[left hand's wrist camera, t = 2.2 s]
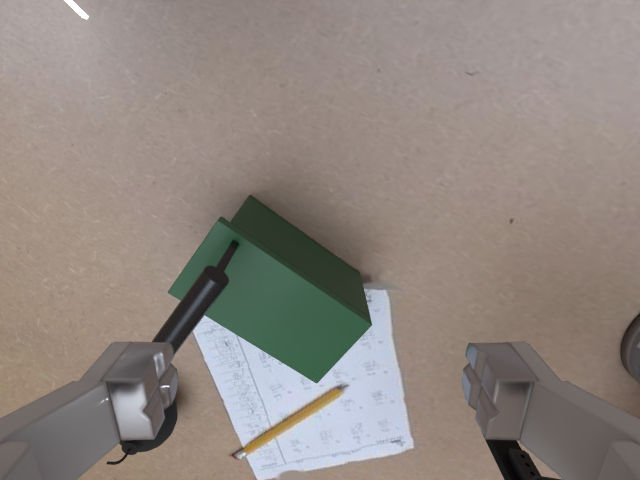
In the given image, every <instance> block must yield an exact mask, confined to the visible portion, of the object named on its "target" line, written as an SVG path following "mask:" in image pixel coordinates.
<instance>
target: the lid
mask: <svg viewBox="0 0 640 480" xmlns="http://www.w3.org/2000/svg"><path fill="white" fill-rule="evenodd" d="M168 293H169V294H171V295H173V296H174V297H176V298H178V299H179V300H181V302H180V303H179V304H178V306H177V307H176V309H175V310H174V311H173V313H172V314H171V316H170V317H169V318H168V320H167V321H166V322H165V324H164V325H163V327H162V328H161V329H160V331H159V332H158V334H157V335H156V336H155V338H154V339H153V341H152V342H165V343H170V344H171V345H173V350H174V355H175V354H176V352H177V351H178V350H179V348H180V347H181V346H182V344H183V343H184V342H185V340H186V339H187V338H188V336H189V335H190V334H191V332H192V331H193V330H194V328H195V327H196V326H197V324H198V323H199V322H200V320H201V319H202V318H203V316H204V315H205V316H207V317H209V318H210V319H212V320H214V321H215V322H217V323H219V324H220V325H222V326H223V327H225V328H227V329H228V330H230V331H232V332H233V333H235V334H237V335H238V336H240V337H241V338H243V339H245V340H246V341H248V342H250V343H251V344H253V345H255V346H256V347H258V348H259V349H261V350H263V351H264V352H266V353H268V354H269V355H271V356H273V357H274V358H276V359H277V360H279V361H281V362H282V363H284V364H286V365H287V366H289V367H291V368H292V369H294V370H296V371H297V372H299V373H300V374H302V375H304V376H305V377H307V378H309V379H310V380H312V381H314V382H315V383H318V382H319V381H320V380H321V379H322V378H323V377H324V375H325V374H326V373H327V372H328V371H329V370H330V369H331V368H332V367H333V366H334V365H335V364H336V363H337V362H338V361H339V360H340V358H341V357H342V356H343V355H344V354H345V353H346V352H347V351H348V350H349V349H350V348H351V347H352V346H353V345H354V344H355V342H356V341H357V340H358V339H359V338H360V337H361V336H362V335H363V334H364V333H365V332H366V331H367V330H368V329H369V328H370V327H371V325H372V323H371V318H370V317H368V316H367V315H365V314H364V313H362V312H361V311H359V310H358V309H356V308H355V307H353V306H352V305H350V304H349V303H348V302H346V301H345V300H343V299H342V298H340V297H339V296H337V295H336V294H334V293H333V292H331V291H330V290H328V289H327V288H326V287H324V286H323V285H321V284H320V283H318V282H317V281H315V280H314V279H312V278H311V277H309V276H308V275H306V274H305V273H304V272H302V271H301V270H299V269H298V268H296V267H295V266H293V265H292V264H290V263H289V262H287V261H286V260H284V259H283V258H282V257H280V256H279V255H277V254H276V253H274V252H273V251H271V250H270V249H268V248H267V247H265V246H264V245H262V244H261V243H260V242H258V241H257V240H255V239H254V238H252V237H251V236H249V235H248V234H246V233H245V232H243V231H242V230H240V229H239V228H238V227H236V226H235V225H233V224H232V223H230V222H229V221H227V220H226V219H224V218H223V217H220V218H219V220H218V221H217V222H216V224H215V225H214V226H213V228H212V229H211V231H210V232H209V234H208V235H207V236H206V238H205V239H204V241H203V242H202V244H201V245H200V247H199V248H198V249H197V251H196V252H195V254H194V255H193V257H192V258H191V259H190V261H189V262H188V264H187V265H186V267H185V268H184V269H183V271H182V272H181V274H180V275H179V277H178V278H177V279H176V281H175V282H174V284H173V285H172V287H171V288H170V289H169V291H168Z"/></svg>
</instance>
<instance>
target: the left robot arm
mask: <svg viewBox="0 0 640 480" xmlns="http://www.w3.org/2000/svg"><path fill="white" fill-rule="evenodd" d="M64 1H66V2H67V3H68V4H69V5H70V6H71V7H72V8H73V9H74V10H75V11H76V12H77V13H78V14H79V15H80V16H81V17H82V18H85V19H87V18H88V17H89V16H88V15H87V14H86V13H85V12H83V11H82V10H81V9H80V8H79V7H78V6H77V5H76V4H75V3H74V2H73V1H72V0H64ZM174 356H175V355H174V350H173V345H171V344H170V343H165V342H114V343H111V344H110V345H109V347H108V348H107V349H106V350H105V351H104V352H103V354H102V355H101V356H100V357H99V358H98V359H97V360H96V362H95V363H94V364H93V365H92V366H91V367H90V369H89V370H88V371H87V372H86V373H85V374H84V375H83V377H82V378H81V379H80V380H79V381H72V382H70V383H68V384H66V385H64V386H62V387H61V388H59V389H57V390H55V391H53V392H51V393H49V394H47V395H45V396H43V397H41V398H39V399H37V400H35V401H33V402H31V403H30V404H28V405H26V406H24V407H22V408H20V409H18V410H16V411H14V412H12V413H10V414H8V415H6V416H4V417H2V418H1V419H0V480H77V479H78V478H79V477H80V476H81V475H83V474H84V473H85V472H86V471H87V470H88V469H90V468H91V467H92V466H93V465H94V464H95V463H97V462H98V461H99V460H100V459H101V458H102V457H104V456H105V455H106V454H107V453H108V452H109V451H111V450H112V449H113V448H114V447H115V446H116V445H118V444H119V443H120V440H151V439H155V437H156V435H157V433H158V431H159V429H160V427H161V425H162V423H163V421H164V419H165V416H164V410H165V409H167V408H168V407H169V406H171V405H172V403H173V400H174V398H175V395H176V391H177V386H178V374H177V369H176V368H175V367H174V366H173V365H172V364H171V361H172V359H173V358H174ZM465 356H466V358H467V359H468V361H469V364H468V365H467V366H466V367H465V368H464V369H463V375H462V385H463V392H464V395H465V398H466V400H467V403H468V405H469V406H471V407H472V408H473V409H475V410H476V416H475V419H476V421H477V423H478V425H479V427H480V429H481V431H482V433H483V435H484V437H485V439H488V440H520V443H521V444H523V445H524V446H525V447H526V448H527V449H528V450H530V451H531V452H532V453H533V454H534V455H535V456H537V457H538V458H539V459H540V460H541V461H542V462H544V463H545V464H546V465H547V466H548V467H549V468H551V469H552V470H553V471H554V472H555V473H556V474H558V475H559V476H560V477H561V478H562V479H563V480H640V419H639V418H637V417H635V416H633V415H632V414H630V413H628V412H626V411H624V410H622V409H620V408H618V407H616V406H614V405H612V404H610V403H608V402H606V401H605V400H603V399H601V398H599V397H597V396H595V395H593V394H591V393H589V392H587V391H585V390H583V389H581V388H579V387H578V386H576V385H574V384H572V383H570V382H568V381H561V380H560V379H559V378H558V377H557V375H556V374H555V373H554V372H553V371H552V370H551V369H550V367H549V366H548V365H547V364H546V363H545V362H544V360H543V359H542V358H541V357H540V356H539V355H538V354H537V352H536V351H535V350H534V349H533V348H532V347H531V345H530V344H528V343H526V342H506V343H469V344H468V346H467V349H466V355H465Z"/></svg>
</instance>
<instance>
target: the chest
mask: <svg viewBox="0 0 640 480" xmlns="http://www.w3.org/2000/svg"><path fill="white" fill-rule="evenodd" d="M230 223H232V224H233V225H235V226H236V227H238V228H239V229H240V230H242V231H243V232H245V233H246V234H248V235H249V236H251V237H252V238H254V239H255V240H257V241H258V242H260V243H261V244H262V245H264V246H265V247H267V248H268V249H270V250H271V251H273V252H274V253H276V254H277V255H279V256H280V257H282V258H283V259H284V260H286V261H287V262H289V263H290V264H292V265H293V266H295V267H296V268H298V269H299V270H301V271H302V272H304V273H305V274H306V275H308V276H309V277H311V278H312V279H314V280H315V281H317V282H318V283H320V284H321V285H323V286H324V287H326V288H327V289H328V290H330V291H331V292H333V293H334V294H336V295H337V296H339V297H340V298H342V299H343V300H345V301H346V302H348V303H349V304H350V305H352V306H353V307H355V308H356V309H358V310H359V311H361V312H362V313H364V314H365V315H367V316H368V317H370V314H369V309H368V305H367V301H366V297H365V292H364V288H363V284H362V280H361V275H360V273H359V272H358V271H357V270H355V269H354V268H352V267H351V266H350V265H348V264H347V263H345V262H344V261H342V260H341V259H340V258H338V257H337V256H335V255H334V254H333V253H331V252H330V251H328V250H327V249H326V248H324V247H323V246H321V245H320V244H319V243H317V242H316V241H314V240H313V239H311V238H310V237H309V236H307V235H306V234H304V233H303V232H302V231H300V230H299V229H297V228H296V227H295V226H293V225H292V224H290V223H289V222H287V221H286V220H285V219H283V218H282V217H280V216H279V215H278V214H276V213H275V212H273V211H272V210H271V209H269V208H268V207H266V206H265V205H264V204H262V203H261V202H259V201H258V200H256V199H255V198H254V197H252V196H251V195H249V197H248V198H247V200H246V201H245V202H244V204H243V205H242V207H241V208H240V209H239V211H238V212H237V213H236V215H235V216H234V218H233V219H232V220H231V222H230Z"/></svg>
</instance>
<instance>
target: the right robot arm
mask: <svg viewBox="0 0 640 480" xmlns="http://www.w3.org/2000/svg"><path fill="white" fill-rule="evenodd" d="M621 359H622V363H623V365H624V367H625V369H626V370H627V372H628V373H629V374H630V375H631V376H632V377H633V378H635V379H636V380H637V381H638V382H639V383H640V315H639V316H638V317H637V318H636V320H635V321H634V322H633V323H632V324H631V326H630V327H629V329H628V331H627V332H626V334H625V337H624V339H623V342H622V347H621ZM481 432H482V431H481ZM482 434H483V433H482ZM483 436H484V435H483ZM484 438H485V437H484ZM485 440H486V442H487V444H488V446H489V448H490V450H491V452H492V454H493V457H494V459H495V461H496V463H497V465H498V467H499V469H500V471H501V473H502V475H503V477H504V479H505V480H561V479H555V478H549V477H543V476H541V475H540V473H539V471H538V470H537V468H536V466H535V465H534V463H533V461H532V459H531V458H530V456H529V454H528V453H526V452H525V451H522V449H521V448H520V446H519V444H518V442H517V441H516V440H488V439H485Z"/></svg>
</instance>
